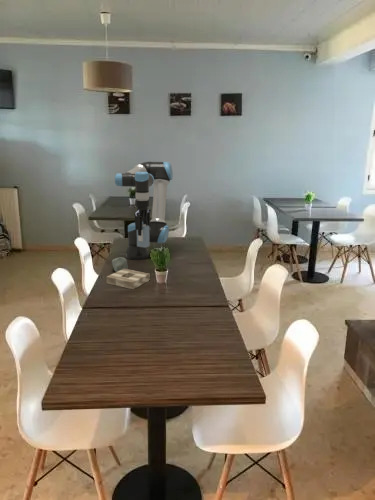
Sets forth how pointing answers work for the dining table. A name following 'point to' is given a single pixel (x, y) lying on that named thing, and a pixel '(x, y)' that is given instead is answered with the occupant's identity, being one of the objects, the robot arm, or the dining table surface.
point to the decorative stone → (119, 264)
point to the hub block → (128, 278)
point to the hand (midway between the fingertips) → (143, 239)
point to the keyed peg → (144, 237)
